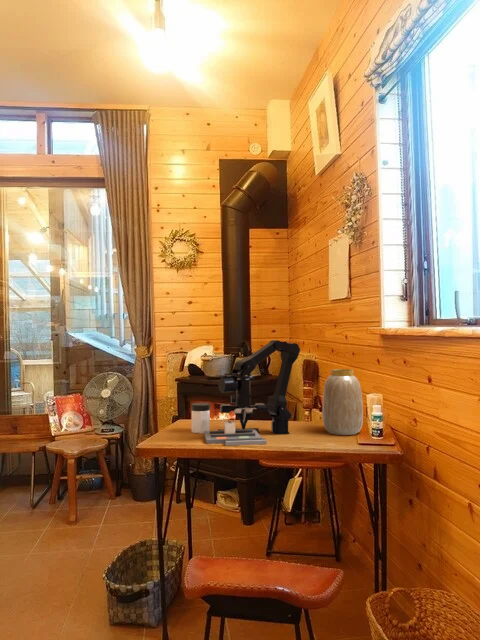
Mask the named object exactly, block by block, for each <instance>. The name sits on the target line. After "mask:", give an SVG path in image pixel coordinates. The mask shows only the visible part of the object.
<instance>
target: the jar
mask: <svg viewBox="0 0 480 640" xmlns="http://www.w3.org/2000/svg"><path fill="white" fill-rule="evenodd" d="M210 405H211V403H209V402H192V404H191V433H195V434H204V431H211V430H210V429H211V419H210V418H211V417H210V415H211V414H210V413H211V412H210V411H211V406H210Z"/></svg>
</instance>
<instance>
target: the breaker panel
mask: <svg viewBox="0 0 480 640" xmlns="http://www.w3.org/2000/svg"><path fill="white" fill-rule="evenodd" d="M203 436H204V440H205V442H206V445H211V444H212V445H216V444H218V443H220V444H225V440H239V439H263V437H262V436H261V435H260V434H259V432H257V431H256V430H252V429H249V430H235V433H233V434H224V430H220V431H217V430H210V431H204V433H203ZM214 443H215V444H214Z"/></svg>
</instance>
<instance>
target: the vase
mask: <svg viewBox="0 0 480 640" xmlns="http://www.w3.org/2000/svg"><path fill="white" fill-rule="evenodd" d="M354 372H355V371H354V370H353V369H349V368H348V369H345V368H333V369H330V375H329V376H328V377H327V378H326V379H325V382H324V387H323V392H322V423H323V426H324V428H325V430H326V432H327V433H329V434H332V435H338V436H355V435H358V434H359V433H360V431H361V429H362V427H363V424H364V422H363V421H364V403H363V402H364V401H363V392H362V386H361V383H360V380H359V379H358V377H356V376H355V375H354ZM358 432H359V433H358ZM357 433H358V434H357Z"/></svg>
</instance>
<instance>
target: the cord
mask: <svg viewBox="0 0 480 640" xmlns="http://www.w3.org/2000/svg"><path fill="white" fill-rule="evenodd" d="M249 429H252V430H256V431H257V432H258V433H259V432H260V428H259V427H252V428H251V427H249V428H246V427H245V429H242V428H235V430H249ZM220 430H224V428H220V429H219V428H218V429H217V430H216V431H220Z"/></svg>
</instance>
